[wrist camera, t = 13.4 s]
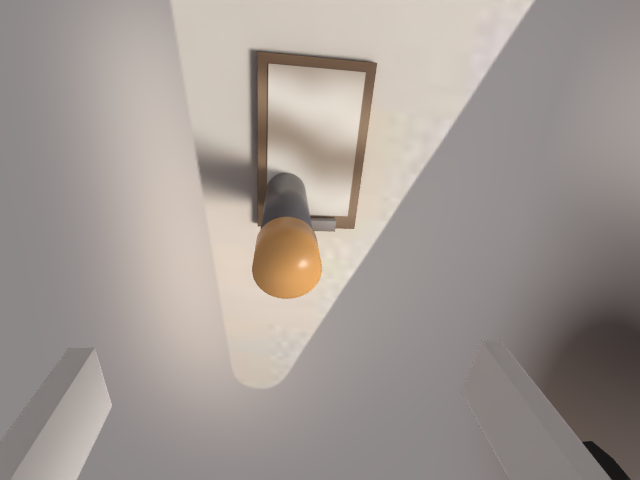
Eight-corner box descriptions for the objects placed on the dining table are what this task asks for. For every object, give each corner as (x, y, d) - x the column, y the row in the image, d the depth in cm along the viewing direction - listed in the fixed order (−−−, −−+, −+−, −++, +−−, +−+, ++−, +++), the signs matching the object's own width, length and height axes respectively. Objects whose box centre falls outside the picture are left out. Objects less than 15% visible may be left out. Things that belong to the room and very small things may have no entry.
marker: (264, 169, 29) (251, 238, 17) (308, 172, 29) (324, 240, 18) (264, 210, 30) (252, 298, 19) (305, 212, 31) (319, 298, 19)
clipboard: (257, 52, 25) (256, 51, 24) (375, 63, 27) (380, 62, 25) (258, 223, 32) (257, 230, 30) (352, 226, 33) (356, 232, 32)
